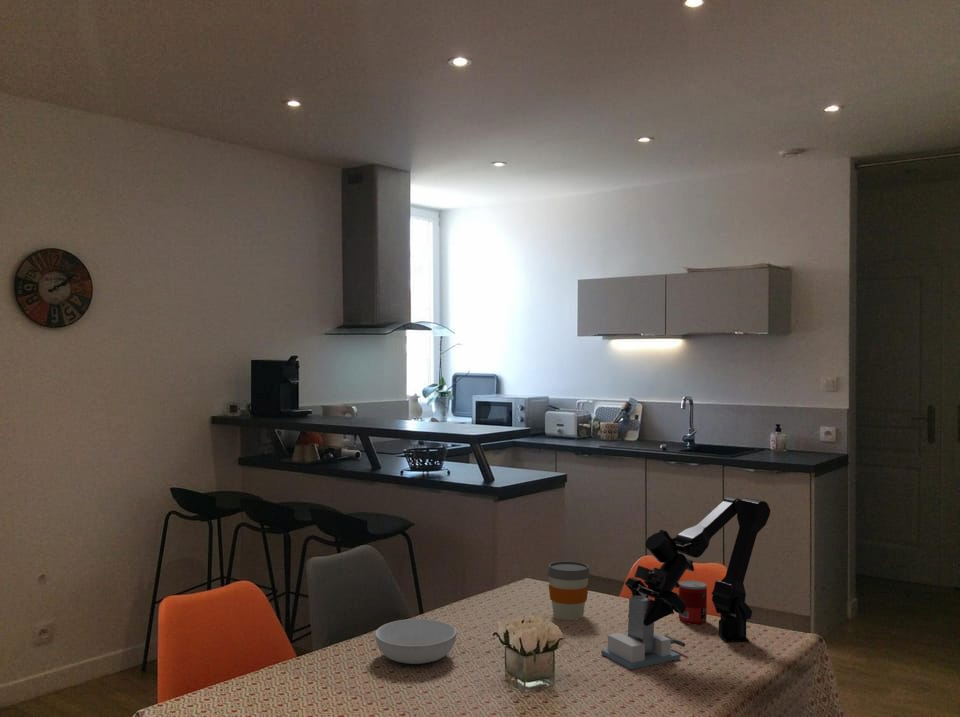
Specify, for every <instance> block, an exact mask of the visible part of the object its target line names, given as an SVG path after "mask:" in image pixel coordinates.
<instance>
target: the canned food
mask: <svg viewBox="0 0 960 717" xmlns="http://www.w3.org/2000/svg"><path fill="white" fill-rule="evenodd" d="M678 582H679V583H678V584H679V585H680V586H679V587H678V595H679V596H680V598H681V599H682V600H683V601H684V602H685V603H686V610H685V611H684V613H683V614H679V613H678V619H679V621H680V622H681V621H682V622H681V623H683V622H684V624H687V623H689V624H688V625H694V624H699V625H703V624H706V622H707V613H708V612H707V611H708V609H707V608H708V607H707V603H708V602H707V601H708V599H707V598H708V597H707V596H708V589H707V588H708V587H707V584H706V583H704V582H702V581H698V580H682V581H678Z"/></svg>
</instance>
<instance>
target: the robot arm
mask: <svg viewBox="0 0 960 717" xmlns="http://www.w3.org/2000/svg"><path fill="white" fill-rule="evenodd" d="M735 516H736V519H737V522H738V531H737V534H736V538H735V542H734V545H733V547H732V548H733V549H732V551H731V556H730V559H729V563H728V566H727V569H726V573H725V576H724V577H723V578H722V579H721V580H717V579H716V580H715V582H714V587H713V589H712V592H711V595H712V597H711V602H712V603H713V604H712V605H714V609H715V612H716V613H717V614H720V619H719V620H718V632H717V634H718V635H717V636H719V637H720V638H721V639H723V640H724V641H725V642H749V640H750V639H749V638H748V637H747V621H748V620H750V619H751V618H752V616H753V610H752V609H751V608H750V606H749V605H748V604H747V602H746V597H747V592H746V589H745V584H744V580H745V578H746V574H747V571H748V569H749V568H748V567H749V564H750V559H751V557H752V554H753V549H754V547H755V542H756V539H757V535H758V533H759V532H760V531H761V530H762V529H763V528H764V527H765V526H766V525H767V523H768V520H769V519H770V516H771V507H770V506H769V504H768V502H766V501H763V500H761V499H760V500H759V499H753V498H748V497H746V498H744V499H740V498H738V497H732V496H726V497H724V498H723V499H722V500H721V503H719V504H718V505H717V506H716V507H715V508H714V509H713V510H711V512H710V513H708V514H707V515H706V516H705V517H704V518H702V520H701V521H700V522H699V523H698V524H696V525H693V526H691V527H687V528H686V529H684V530H682V531H681V532H679V533H678V534H677V535H676V536H674V537H671V536H670V534H669V532H668V531H667V530H664V529H660V530H658V532H655V533H653V534H651V535H650V536H648V538H647V539H646V540H645V548H646V549H647V550H648V551H649V553H650V554H652V556H653V557H654V559H656V561H657V562H659V563H662V565H661V566H660V568H658V567H654V568H652V569H651V568H648V567H646V566H645V567H644V566H641V565H639V564H638V565H637V568H636V571H635V573H634V577H628V579H627V580H626V582H625V583H624V585H625V586H626V587H627V588H628V590H630V592H631V596H637V595H641V596H643V597H646V598H648V599H649V597H650V598H652V599H654V606H653V608H652V609H651V611H650V613H649V614H648V616H647V618H646V620H645V622H644V625H645V626H648V625H650V624H652V623H654V624H655V622H657V621H659V620H660V619H663V618H666V617H667V616H669V615H675V613H677V614H678V615H679V614H683V613H684V611H685V610H686V603H685V602H684V601H683V600H682V599H681V598H680V596H679V593H677V592H674V591H673V590H674V589H675V588H676V589H679V586H680V585H679V583H678V582H680V580H681V578H682V577H683V575H684V574H685V572H686V571H690V572H694V571H695V568H694V564H693V563H694V561H693V560H692V559H688V558H687V557H686V556H688V557H691V558H695V559H696V558H700V557H701V556H702V555H704V553H705V552H706V550H707V549H708V547H709V544H710V540H711V539H712V538H713V536H714V535H716V534H717V533H718V532H719V531H720V530H721V529H722V528H723V527H724V526H725V525H727V524H728V522H730V521H731V520H732V519H733V518H734V517H735ZM627 617H628V618H629V613H628V615H627Z"/></svg>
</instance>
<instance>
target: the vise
mask: <svg viewBox="0 0 960 717" xmlns="http://www.w3.org/2000/svg"><path fill="white" fill-rule="evenodd" d="M673 644H676V645H679V646H680V647H683V648H684V647H685V646H686V643H685V642H683V641H681V640H678V639H676V638H674V637H671V636H669V635H667V634H665V635H662V634H660V633H657V632H655V631H654V639H653V652H650V653H645V644H643V643H641V642H639V641H637V640H635V639H633V638H630V637H628V635H625V634H624V633H622V632H616V633H611V634H607V648H605V649H601V654H602V656H603V655H604V656H603V657H605V656H606V657H605V658H607V657H608V658H607V659H609V658H610V659H609V660H611V659H612V661H613V662H615V661H616V662H615V663H617V664H619V665H621V666H623V667H625V668H626V669H628V668H629V670H630V669H631V670H635V668H636V669H640V668H639V667H641V668H644V666H645V667H650V666H654V665H653V664H655V665H658V664H659V663H660V664H663V663H662V662H665V663H668V662H667V661H669V662H673V661H672V660H674V661H678V660H677V659H679V660H680V659H681V654H679V653H677V652H675V651H674V650H671V646H672V645H673ZM649 665H650V666H649Z"/></svg>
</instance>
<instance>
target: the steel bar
mask: <svg viewBox="0 0 960 717" xmlns="http://www.w3.org/2000/svg"><path fill="white" fill-rule="evenodd" d="M654 601H655V599H651V598H649V597H648V598H646V597H643V596H641V595H637V596H633V595H630V596H629V599H628V614H629V617H628V618H627V619H628V620H627V621H628V624H627V625H628V626H627V636H628V637H630V638H633V639H635V640H637V641H639V642H641V643H643V644H645V653H650V652H653V639H654V632H655V622H654V623H652V624H650V625H648V626H645V625H644V622H645V620H646V618H647V616H648V614H649V613H650V611H651V609H652V608H653V606H654Z"/></svg>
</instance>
